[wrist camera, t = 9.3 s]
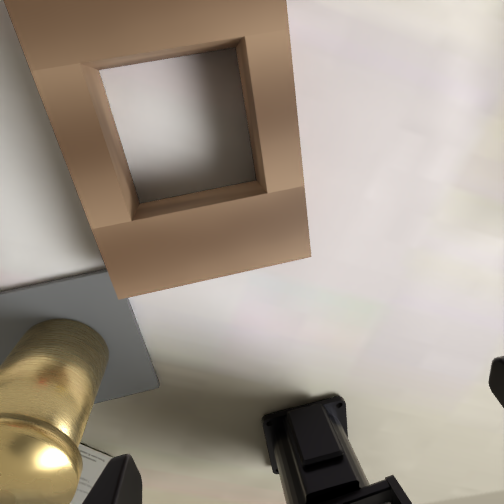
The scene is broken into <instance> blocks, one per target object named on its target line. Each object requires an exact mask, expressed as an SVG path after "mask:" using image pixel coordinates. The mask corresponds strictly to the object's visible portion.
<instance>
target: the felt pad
mask: <svg viewBox="0 0 504 504" xmlns="http://www.w3.org/2000/svg"><path fill="white" fill-rule="evenodd" d="M51 319H69V320H74V321H78V322H81V323H83V324H86V325H88V326H90V327H91V328H93V329H94V330H96V331H97V332H98V333H99V334H100V335H101V336H102V337H103V339H104V340H105V342H106V344H107V346H108V350H109V360H108V364H107V367H106V369H105V372H104V375H103V378H102V381H101V384H100V387H99V389H98V392H97V395H96V398H95V401H94V404H95V403H99V402H103V401H108V400H112V399H116V398H120V397H124V396H128V395H132V394H136V393H140V392H144V391H148V390H152V389H156V388H159V381H158V378H157V375H156V373H155V370H154V367H153V365H152V362H151V359H150V356H149V354H148V351H147V348H146V346H145V343H144V340H143V337H142V335H141V332H140V329H139V327H138V324H137V321H136V318H135V316H134V313H133V310H132V308H131V305H130V302H129V300H128V298H124V299H120V300H118V297H117V295H116V292H115V290H114V287H113V284H112V282H111V279H110V277H109V274H108V271H107V269H105V270H100V271H96V272H91V273H86V274H82V275H77V276H72V277H68V278H63V279H58V280H54V281H49V282H44V283H40V284H35V285H30V286H26V287H21V288H17V289H12V290H7V291H3V292H0V366H1V364H2V363H3V362H4V360H5V359H6V358H7V356H8V355H9V354H10V352H11V351H12V350H13V348H14V347H15V346H16V344H17V343H18V342H19V340H20V339H21V338H22V336H23V335H24V334H25V333H26V331H27V330H29V329H30V328H31V327H33V326H34V325H36V324H38V323H40V322H43V321H46V320H51Z"/></svg>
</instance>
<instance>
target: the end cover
mask: <svg viewBox="0 0 504 504" xmlns="http://www.w3.org/2000/svg"><path fill="white" fill-rule="evenodd" d="M108 360H109V350H108V346H107V344H106V342H105V340H104V339H103V337H102V336H101V335H100V334H99V333H98V332H97V331H96V330H94V329H93V328H91V327H90V326H88V325H86V324H83V323H81V322H78V321H74V320H69V319H51V320H46V321H43V322H40V323H38V324H36V325H34V326H33V327H31V328H30V329H29V330H27V331H26V333H25V334H24V335H23V336H22V338H21V339H20V340H19V342H18V343H17V344H16V346H15V347H14V348H13V350H12V351H11V352H10V354H9V355H8V356H7V358H6V359H5V360H4V362H3V363H2V364H1V366H0V504H70V502H71V501H72V499H73V497H74V495H75V493H76V489H77V486H78V483H79V480H80V477H81V473H82V469H83V461H82V456H81V453H80V451H79V449H78V447H79V444H80V441H81V438H82V435H83V432H84V430H85V427H86V424H87V421H88V418H89V415H90V412H91V410H92V407H93V404H94V401H95V398H96V395H97V392H98V389H99V387H100V384H101V381H102V378H103V375H104V372H105V369H106V367H107V364H108Z"/></svg>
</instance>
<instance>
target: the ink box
mask: <svg viewBox="0 0 504 504" xmlns="http://www.w3.org/2000/svg"><path fill="white" fill-rule="evenodd" d="M78 449H79V451H80V453H81V456H82V461H83V469H82V473H81V477H80V480H79V483H78V486H77V489H76V493H75V495H74V497H73V499H72V501H71V502H70V504H82V503H83V501H84V500H85V498H86V496H87V495H88V493H89V492H90V490H91V489H92V487H93V485H94V484H95V482H96V481H97V479H98V478H99V476H100V474H101V473H102V471H103V470H104V468H105V466H106V465H107V463H108V462H109V461H110V460H111V459H112V458H113V457H110V456H108V455H105V454H103V453H101V452H98V451H96V450H93V449H91V448H89V447H87V446H84V445H82V444H79V447H78Z"/></svg>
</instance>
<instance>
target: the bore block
mask: <svg viewBox="0 0 504 504" xmlns="http://www.w3.org/2000/svg"><path fill="white" fill-rule="evenodd" d="M4 3H5V5H6V8H7V11H8V13H9V16H10V18H11V21H12V24H13V26H14V29H15V32H16V34H17V37H18V39H19V42H20V45H21V47H22V50H23V52H24V55H25V58H26V60H27V63H28V65H29V68H30V71H31V73H32V76H33V78H34V81H35V84H36V86H37V89H38V92H39V94H40V97H41V99H42V102H43V105H44V107H45V110H46V112H47V115H48V118H49V120H50V123H51V125H52V128H53V131H54V133H55V136H56V138H57V141H58V144H59V146H60V149H61V151H62V154H63V157H64V159H65V162H66V165H67V167H68V170H69V172H70V175H71V178H72V180H73V183H74V185H75V188H76V191H77V193H78V196H79V198H80V201H81V204H82V206H83V209H84V211H85V214H86V217H87V219H88V222H89V224H90V227H91V230H92V232H93V235H94V238H95V240H96V243H97V245H98V248H99V251H100V253H101V256H102V258H103V261H104V264H105V266H106V269H107V271H108V274H109V277H110V279H111V282H112V284H113V287H114V290H115V292H116V295H117V297H118V300H120V299H124V298H129V297H133V296H138V295H142V294H147V293H151V292H156V291H160V290H165V289H169V288H173V287H178V286H182V285H187V284H191V283H196V282H200V281H205V280H209V279H214V278H218V277H223V276H227V275H232V274H236V273H241V272H245V271H250V270H254V269H259V268H263V267H268V266H272V265H277V264H281V263H286V262H290V261H295V260H299V259H304V258H308V257H311V249H310V239H309V229H308V218H307V208H306V198H305V188H304V178H303V167H302V157H301V147H300V137H299V126H298V116H297V106H296V96H295V85H294V75H293V65H292V55H291V44H290V34H289V24H288V14H287V4H286V0H4ZM234 47H236V53H237V59H238V66H239V72H240V79H241V85H242V91H243V98H244V104H245V111H246V117H247V123H248V130H249V136H250V143H251V149H252V155H253V162H254V168H255V175H256V180H255V181H250V182H245V183H240V184H235V185H230V186H225V187H220V188H215V189H210V190H205V191H200V192H195V193H190V194H185V195H180V196H175V197H170V198H165V199H160V200H155V201H150V202H145V203H140V202H139V199H138V196H137V193H136V189H135V186H134V183H133V180H132V176H131V173H130V170H129V167H128V163H127V160H126V157H125V154H124V150H123V147H122V144H121V141H120V138H119V134H118V131H117V128H116V125H115V121H114V118H113V115H112V112H111V108H110V105H109V102H108V99H107V96H106V92H105V89H104V86H103V83H102V79H101V76H100V73H99V70H102V69H108V68H114V67H120V66H126V65H132V64H138V63H144V62H150V61H156V60H162V59H168V58H174V57H180V56H186V55H192V54H198V53H204V52H210V51H216V50H222V49H228V48H234Z"/></svg>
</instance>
